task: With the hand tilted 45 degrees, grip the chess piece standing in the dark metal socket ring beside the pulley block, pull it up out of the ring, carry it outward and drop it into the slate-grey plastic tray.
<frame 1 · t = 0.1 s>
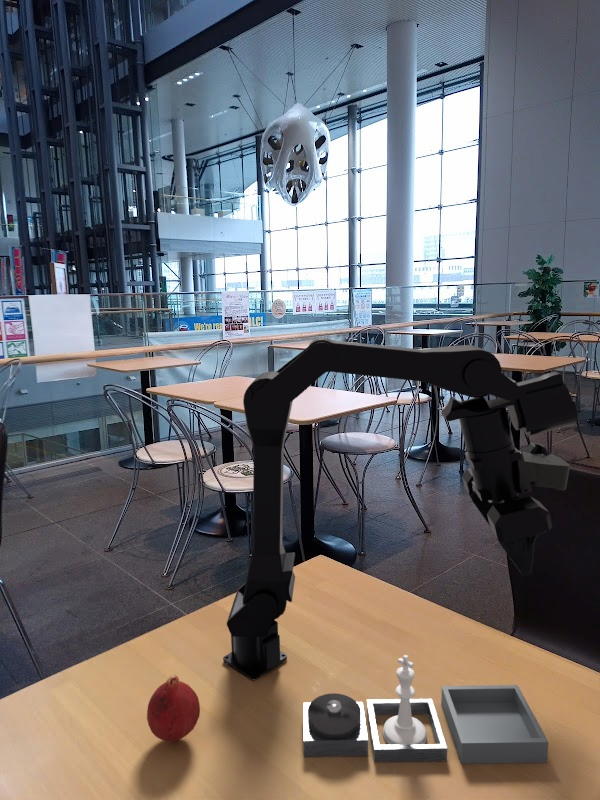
hand: (515, 557, 77), 15 cm above the table, tool pointing down, fingers open, 9 cm apart
chess piece: (404, 736, 68), resting in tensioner
tray: (490, 731, 68), on the table
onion: (175, 741, 68), on the table
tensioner: (404, 734, 68), on the table
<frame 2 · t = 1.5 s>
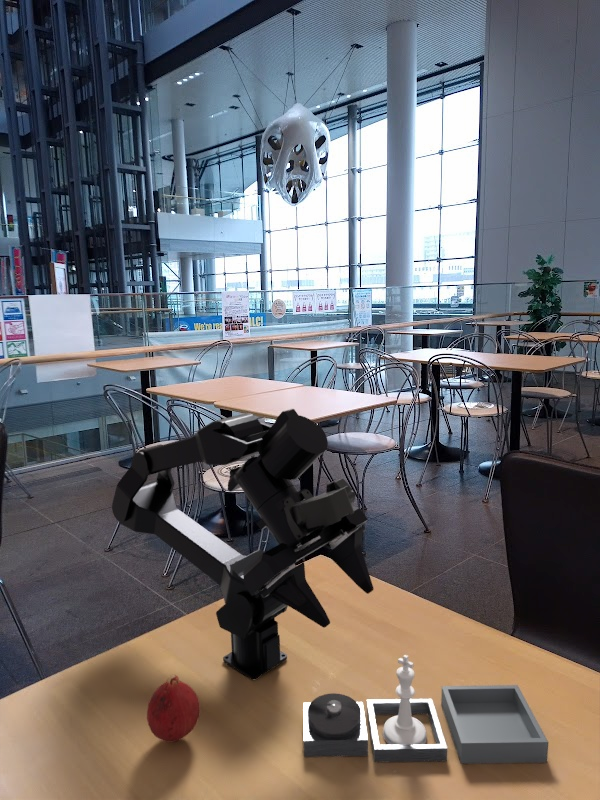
hand: (350, 607, 70), 13 cm above the table, tool tilted 45°, fingers open, 9 cm apart
nothing on the table moved.
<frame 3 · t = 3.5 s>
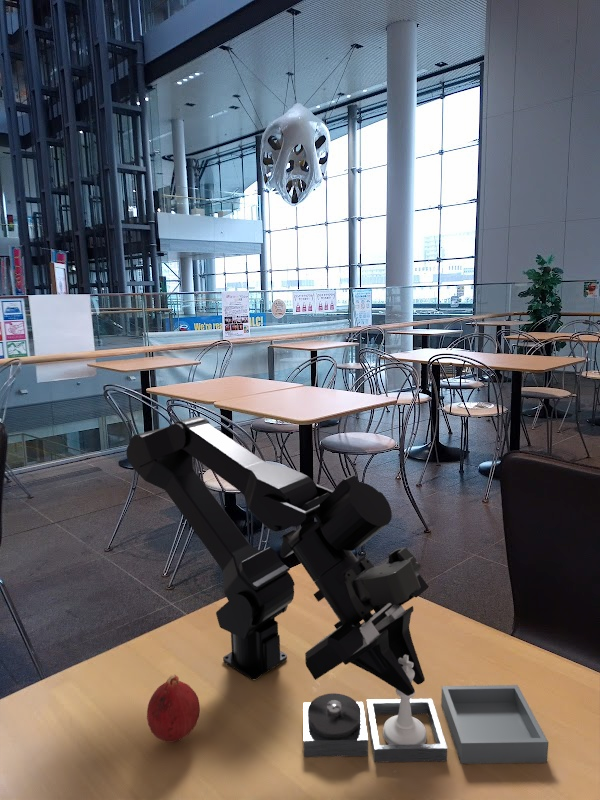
hand: (416, 688, 66), 7 cm above the table, tool tilted 45°, fingers closed on chess piece
chess piece: (404, 736, 68), resting in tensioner, touching gripper
everything else where it was.
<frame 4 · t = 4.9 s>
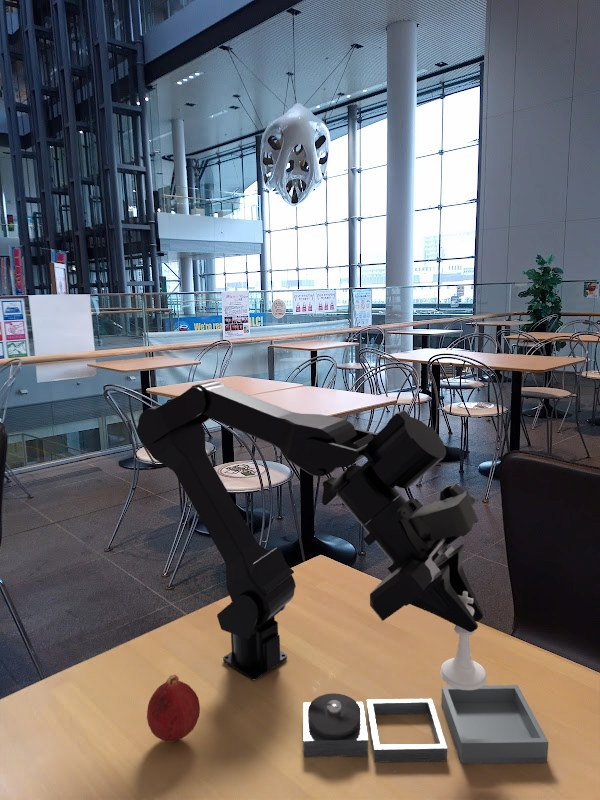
hand: (477, 624, 64), 14 cm above the table, tool tilted 45°, fingers closed on chess piece
chess piece: (463, 677, 66), point 7 cm above the table, touching gripper
everything else where it was.
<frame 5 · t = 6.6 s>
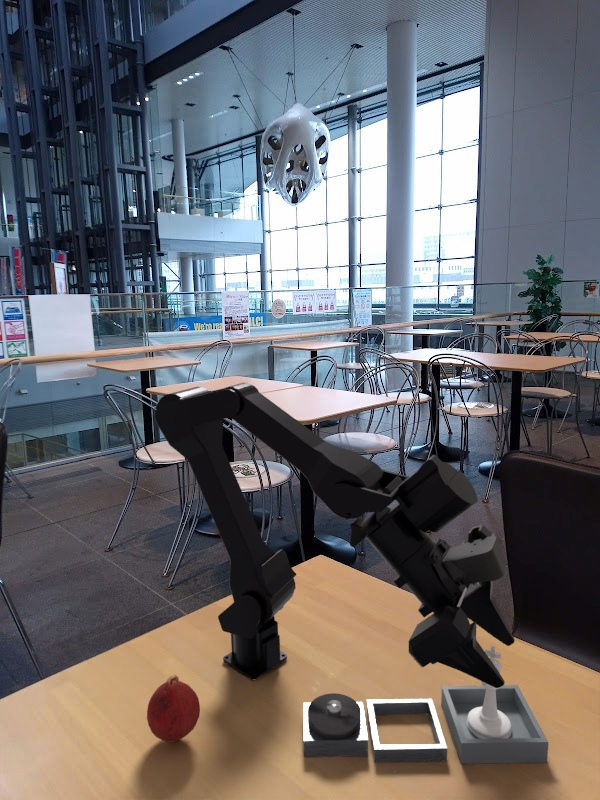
hand: (506, 663, 66), 9 cm above the table, tool tilted 45°, fingers open, 8 cm apart
chess piece: (488, 727, 68), resting on tray
everything else where it was.
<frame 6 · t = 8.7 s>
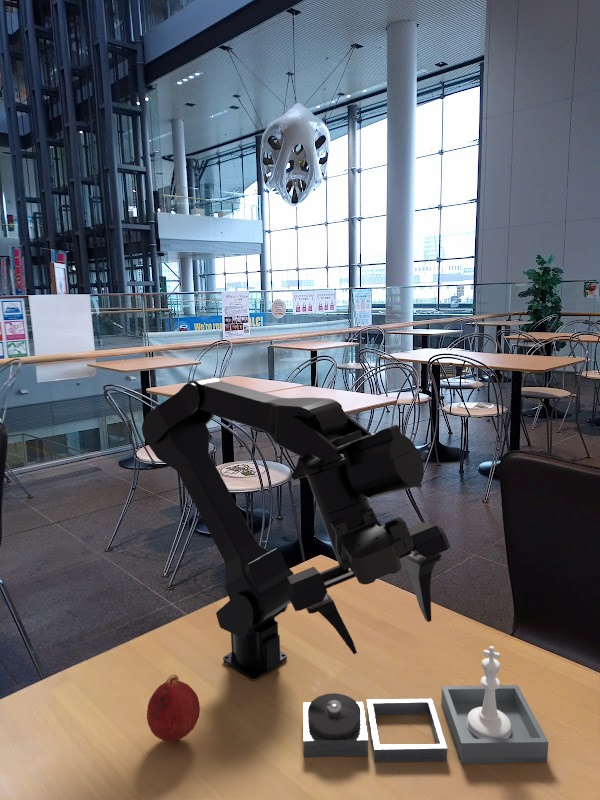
hand: (392, 636, 67), 11 cm above the table, tool tilted 25°, fingers open, 9 cm apart
nothing on the table moved.
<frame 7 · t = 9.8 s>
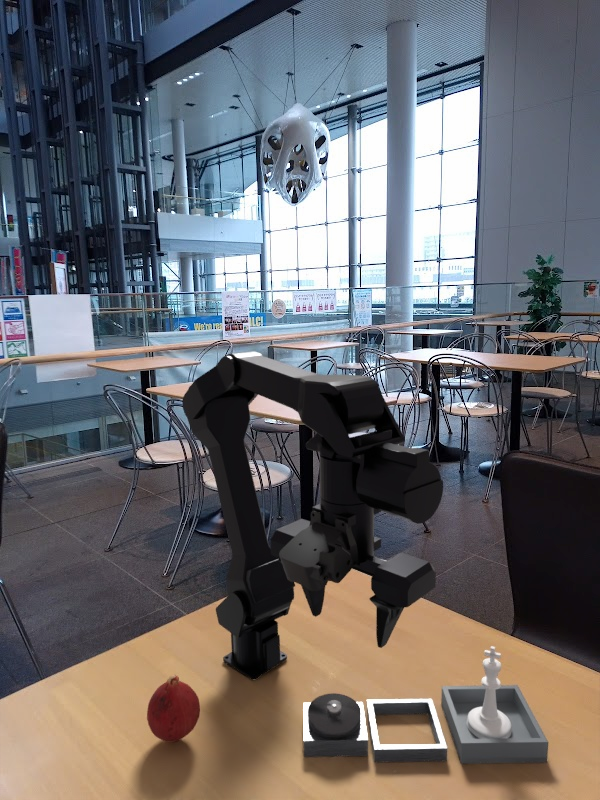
hand: (348, 629, 66), 13 cm above the table, tool pointing down, fingers open, 9 cm apart
nothing on the table moved.
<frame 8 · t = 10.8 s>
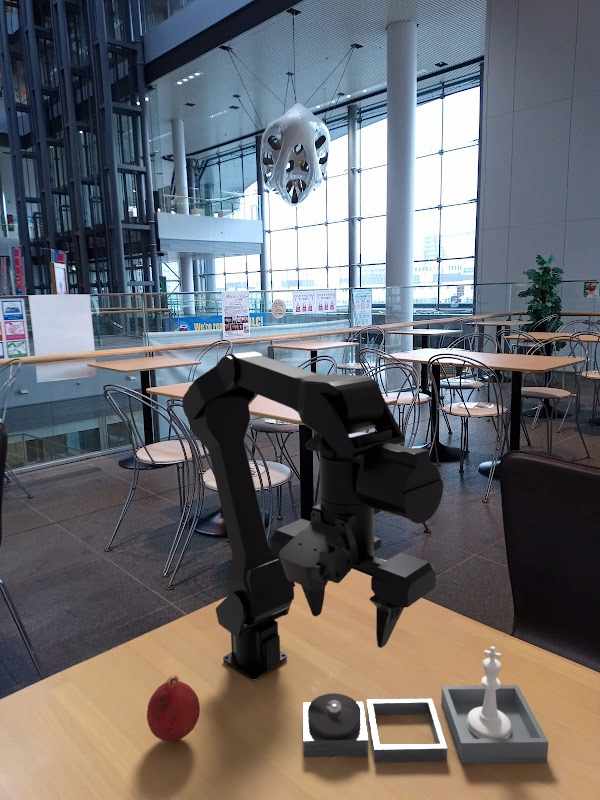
hand: (347, 629, 66), 13 cm above the table, tool pointing down, fingers open, 9 cm apart
nothing on the table moved.
at the end: chess piece inside the target area on the tray (0.2 cm from its centre), point 0.4 cm above the tray's base; the gripper is holding nothing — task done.
